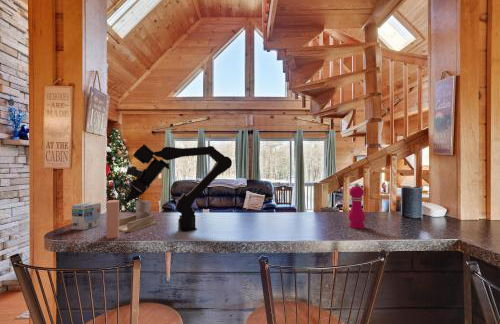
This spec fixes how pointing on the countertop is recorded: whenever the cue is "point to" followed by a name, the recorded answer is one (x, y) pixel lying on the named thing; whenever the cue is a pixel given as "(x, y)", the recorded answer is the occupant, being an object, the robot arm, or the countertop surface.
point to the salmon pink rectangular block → (112, 218)
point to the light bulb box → (86, 215)
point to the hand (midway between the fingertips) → (127, 200)
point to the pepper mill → (356, 208)
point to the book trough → (138, 218)
